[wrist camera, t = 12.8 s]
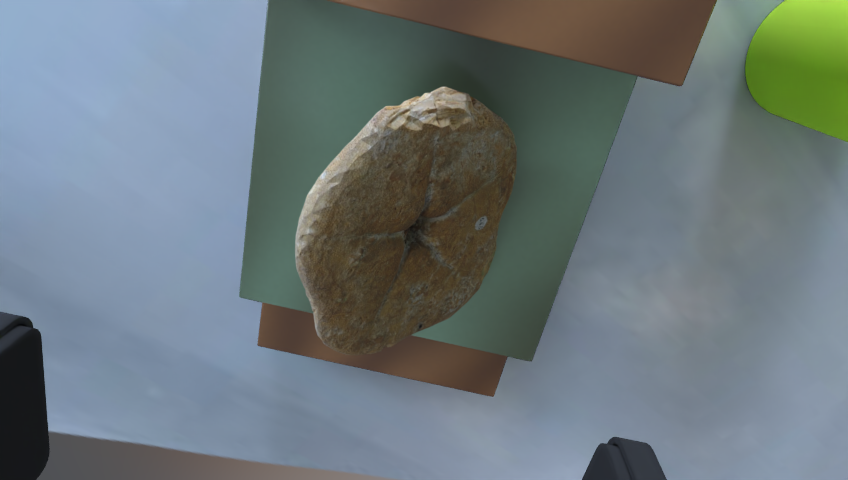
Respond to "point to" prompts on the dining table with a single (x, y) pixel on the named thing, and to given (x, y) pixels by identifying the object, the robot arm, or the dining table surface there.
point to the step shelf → (502, 94)
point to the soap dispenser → (803, 64)
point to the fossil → (405, 220)
